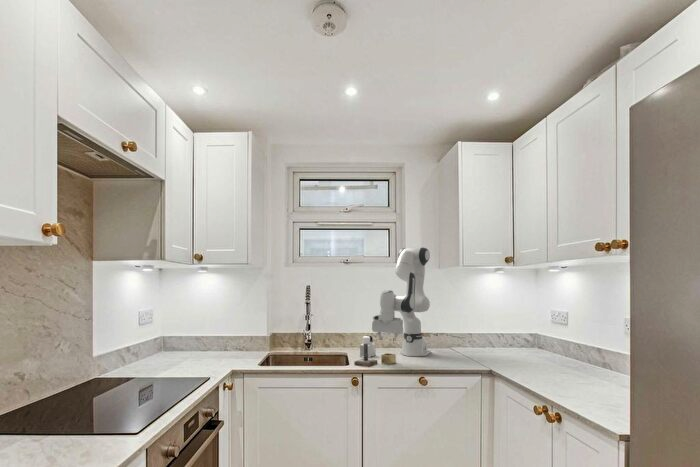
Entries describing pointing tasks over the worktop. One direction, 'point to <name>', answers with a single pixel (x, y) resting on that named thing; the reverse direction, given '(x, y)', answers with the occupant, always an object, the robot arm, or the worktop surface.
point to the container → (370, 346)
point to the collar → (388, 358)
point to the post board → (365, 358)
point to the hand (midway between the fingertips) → (387, 340)
